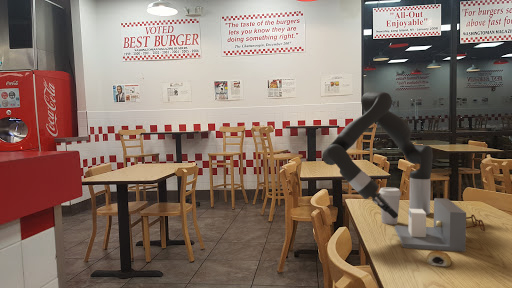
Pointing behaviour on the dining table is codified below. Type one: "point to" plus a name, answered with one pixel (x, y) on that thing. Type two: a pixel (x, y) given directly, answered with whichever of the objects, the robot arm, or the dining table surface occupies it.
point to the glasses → (476, 223)
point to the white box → (417, 223)
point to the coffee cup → (393, 199)
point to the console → (439, 229)
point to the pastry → (439, 259)
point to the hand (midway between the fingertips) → (396, 216)
